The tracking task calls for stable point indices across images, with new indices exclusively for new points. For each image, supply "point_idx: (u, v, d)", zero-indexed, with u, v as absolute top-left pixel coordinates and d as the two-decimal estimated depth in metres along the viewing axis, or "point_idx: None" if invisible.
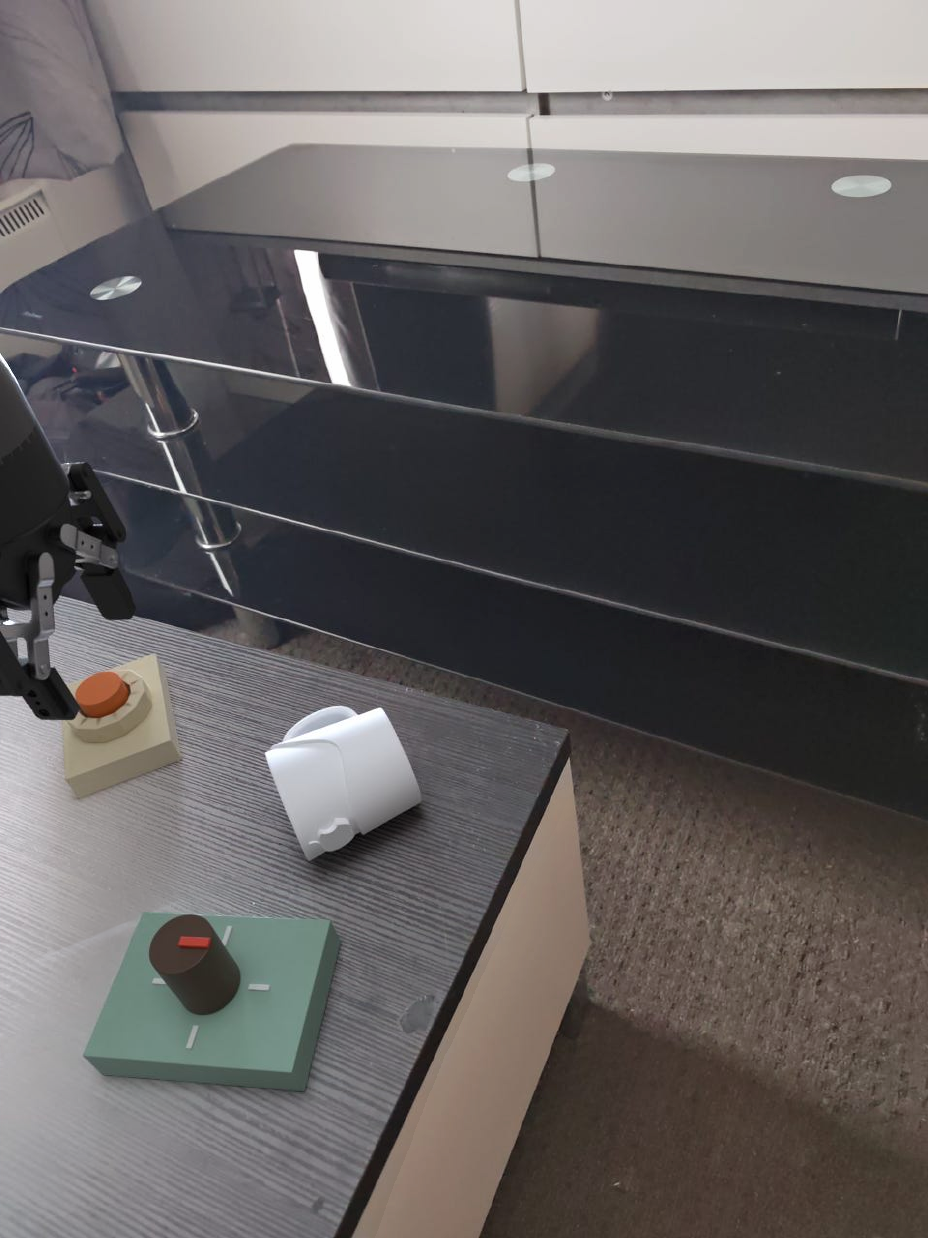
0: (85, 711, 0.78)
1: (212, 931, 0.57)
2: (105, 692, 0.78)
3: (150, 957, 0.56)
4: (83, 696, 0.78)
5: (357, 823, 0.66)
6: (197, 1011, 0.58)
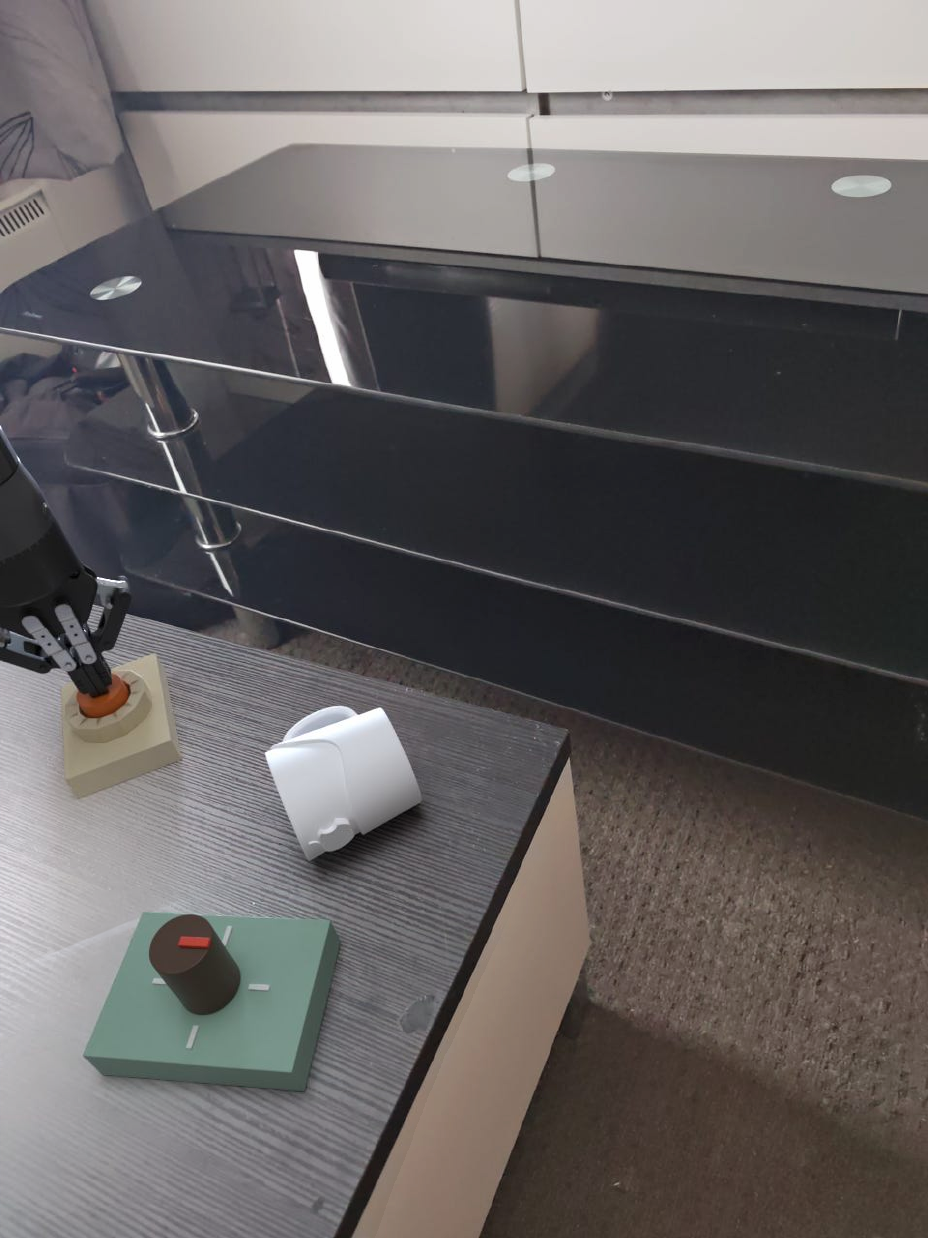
0: (86, 713, 0.79)
1: (212, 931, 0.57)
2: (106, 694, 0.78)
3: (150, 957, 0.56)
4: (84, 698, 0.78)
5: (357, 823, 0.66)
6: (197, 1011, 0.58)
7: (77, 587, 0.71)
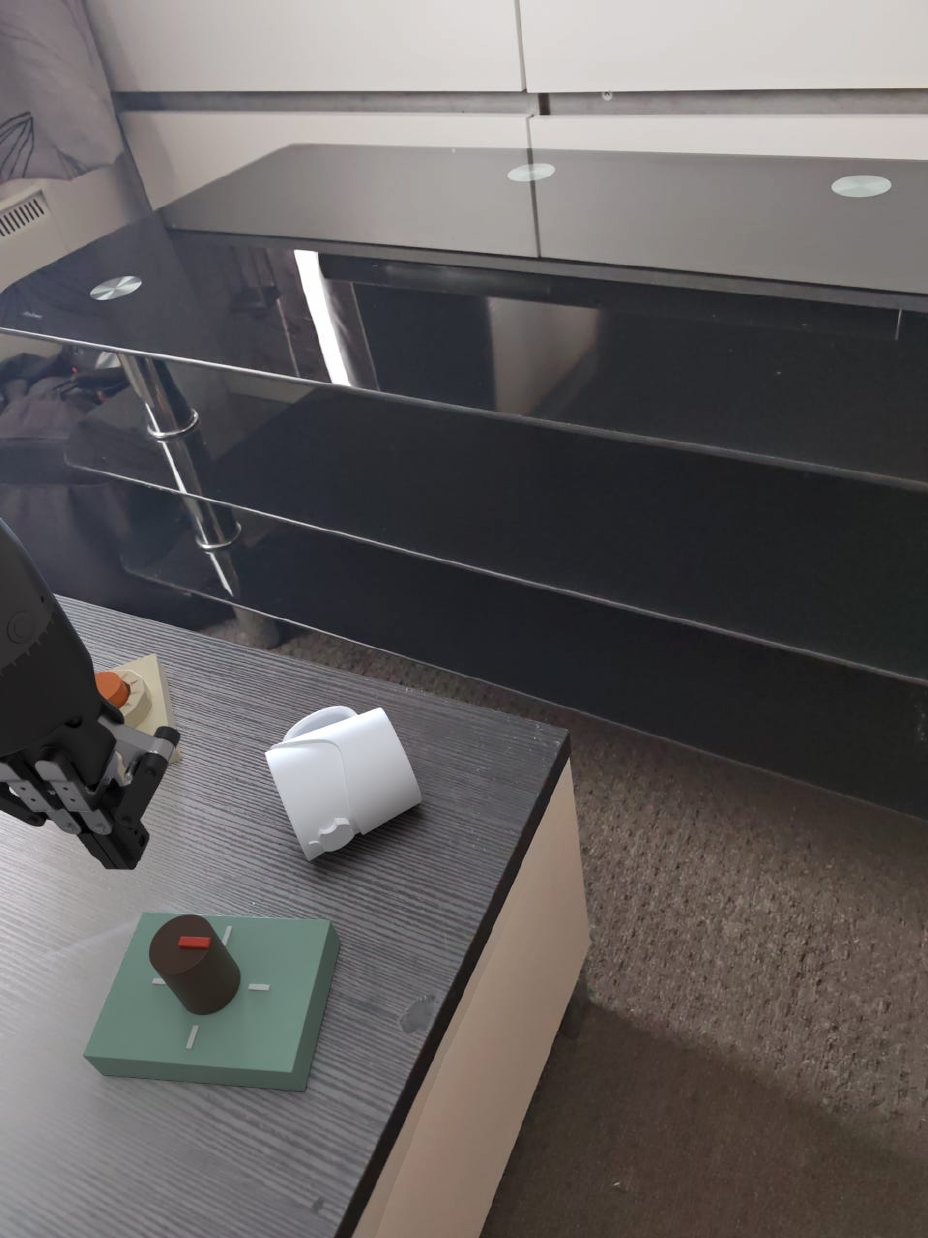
0: None
1: (212, 931, 0.57)
2: (105, 692, 0.78)
3: (150, 957, 0.56)
4: None
5: (357, 823, 0.66)
6: (197, 1011, 0.58)
7: (77, 740, 0.42)
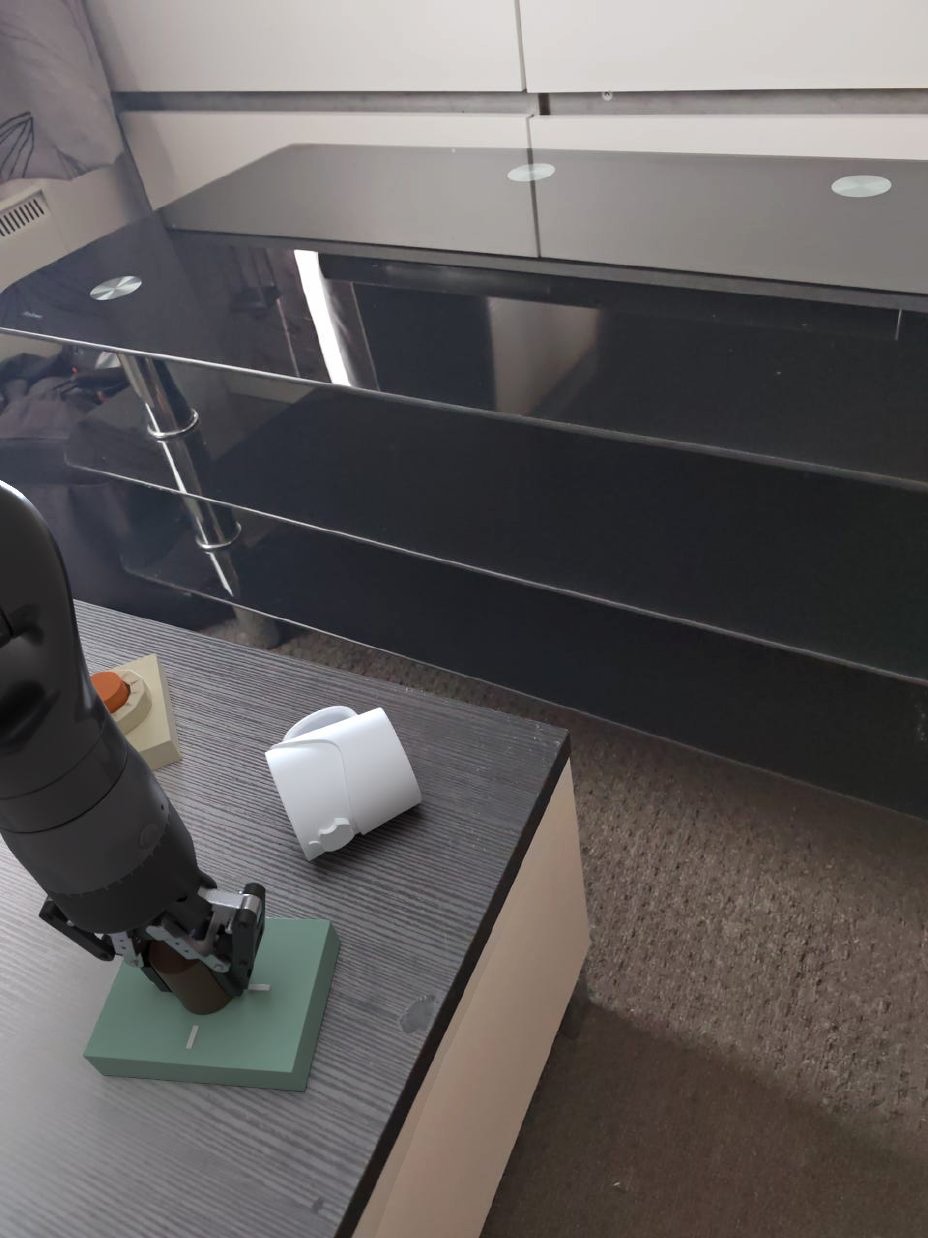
0: None
1: None
2: (105, 692, 0.78)
3: (150, 957, 0.56)
4: None
5: (357, 823, 0.66)
6: (197, 1011, 0.58)
7: (181, 909, 0.51)
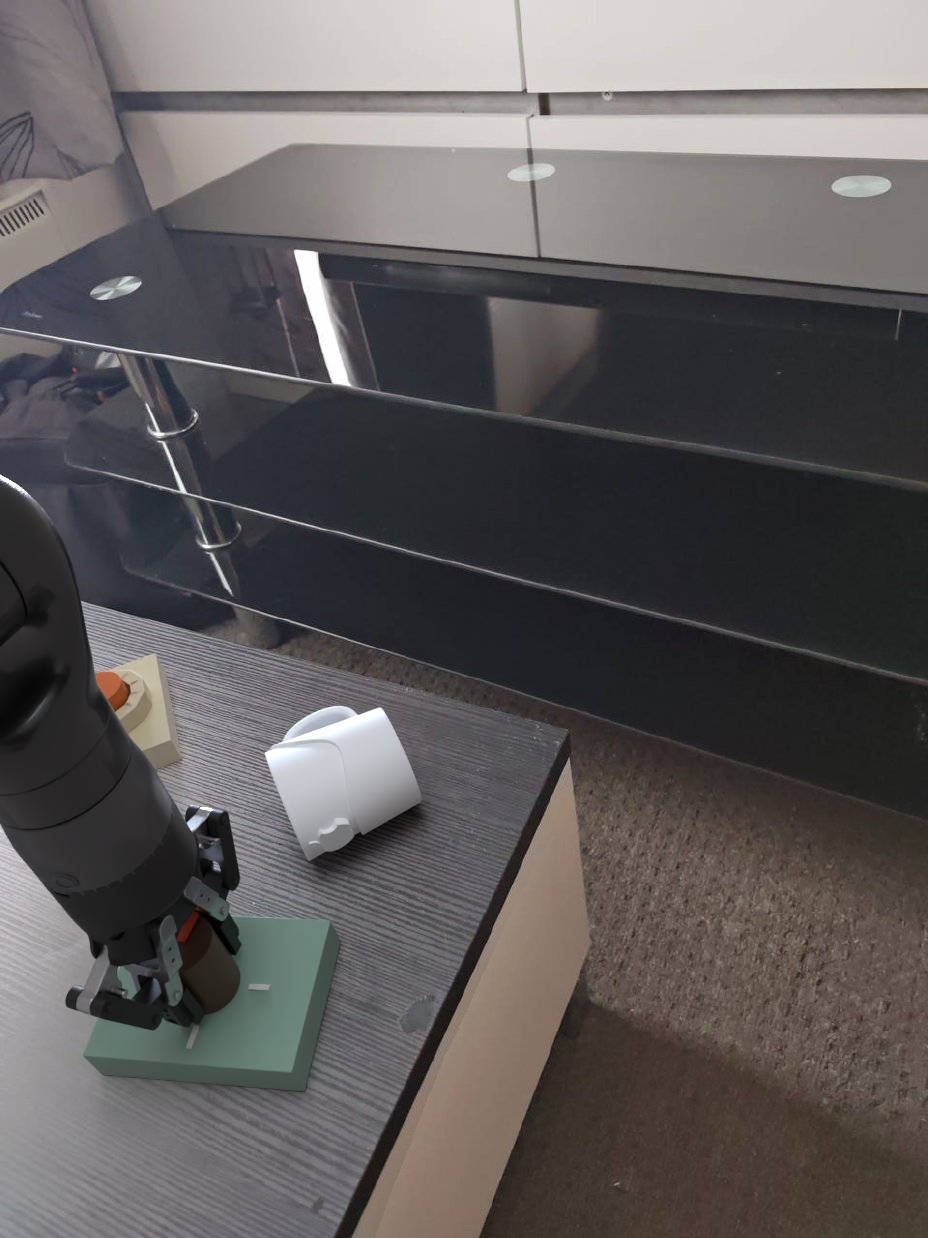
0: None
1: None
2: (105, 692, 0.78)
3: (181, 970, 0.55)
4: None
5: (357, 823, 0.66)
6: (234, 987, 0.59)
7: None
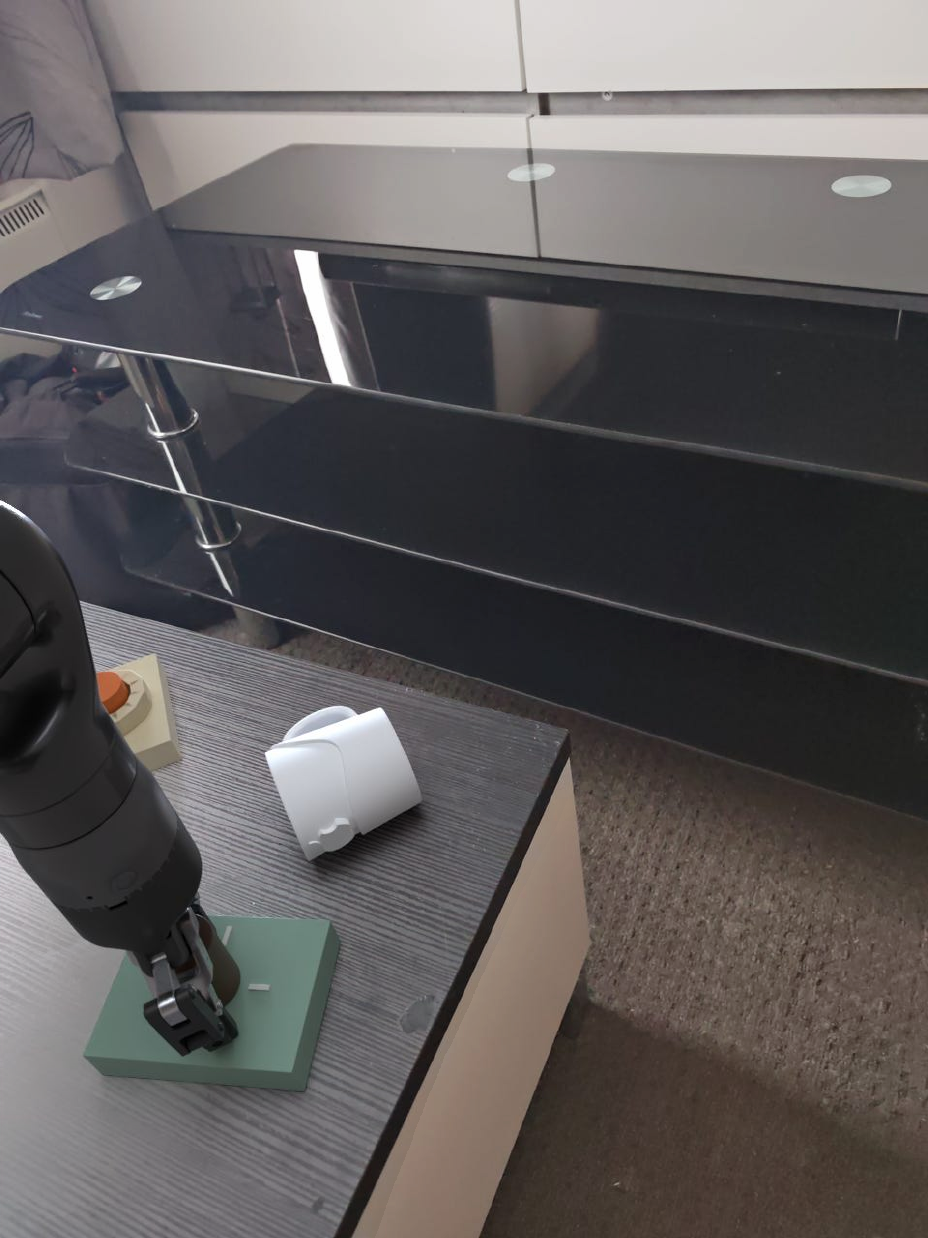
0: None
1: None
2: (105, 692, 0.78)
3: None
4: None
5: (357, 823, 0.66)
6: (237, 966, 0.60)
7: None
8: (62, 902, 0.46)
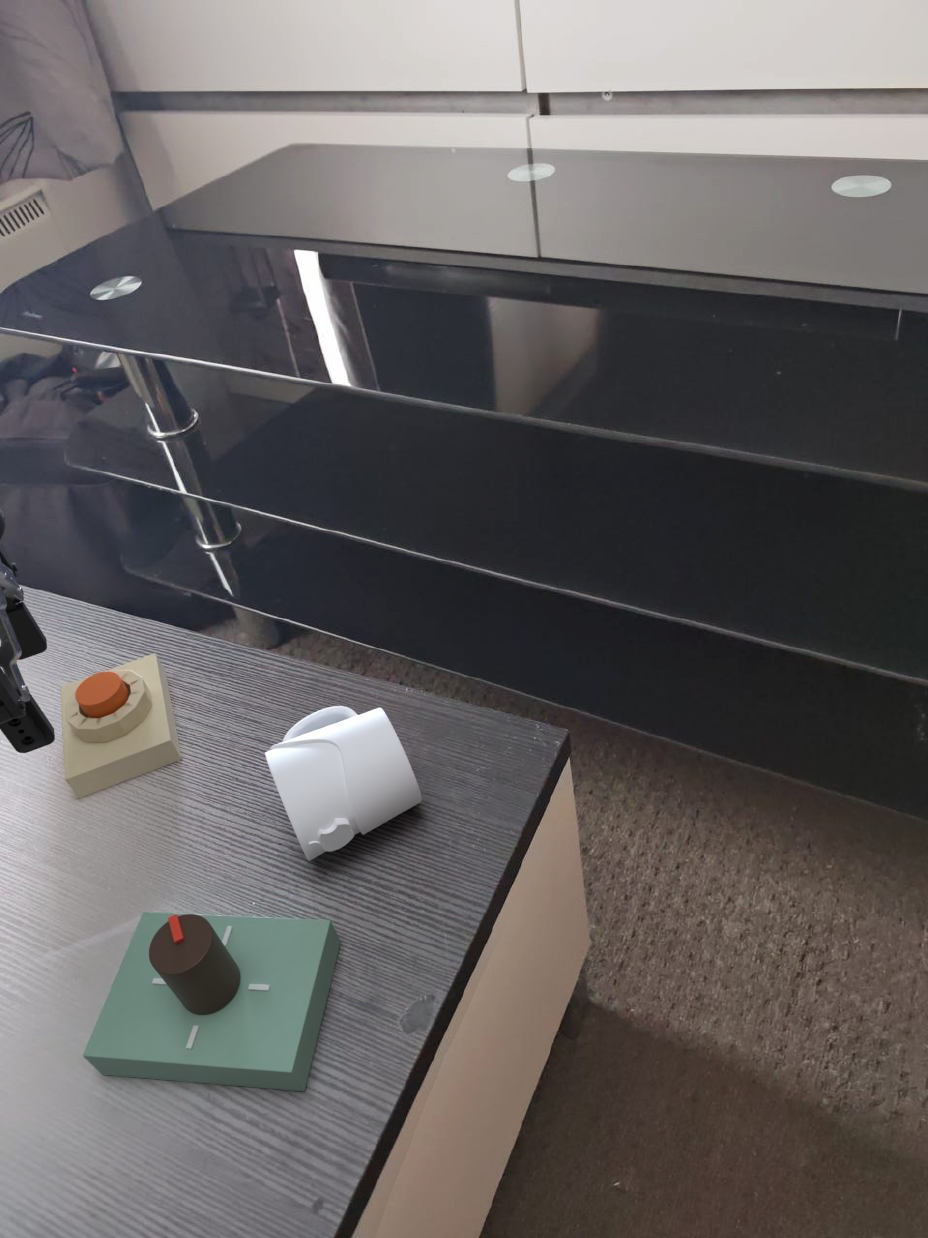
0: (85, 711, 0.78)
1: None
2: (105, 692, 0.78)
3: (202, 956, 0.55)
4: (83, 696, 0.78)
5: (357, 823, 0.66)
6: (237, 966, 0.60)
7: None
8: None
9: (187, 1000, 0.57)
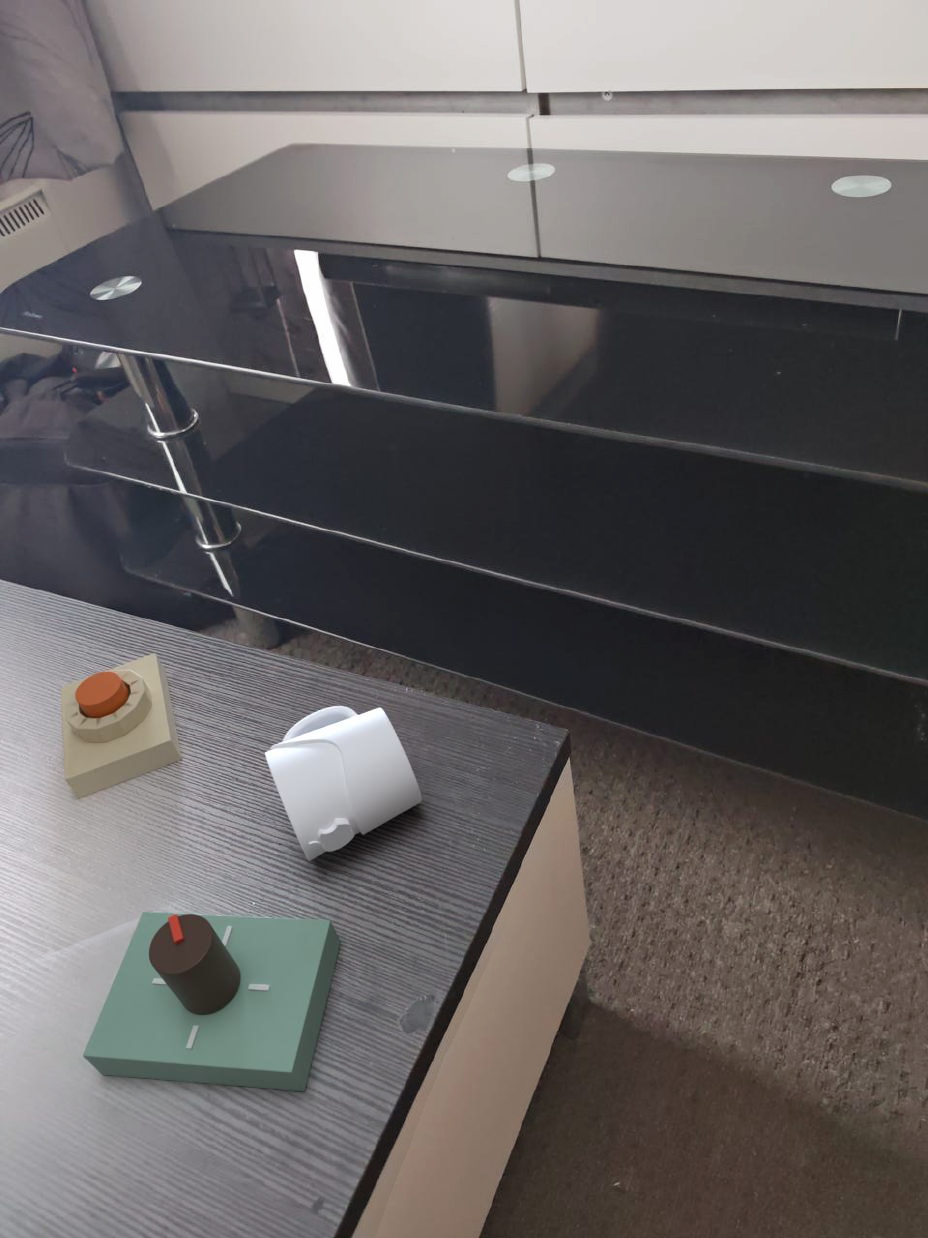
0: (85, 711, 0.78)
1: None
2: (105, 692, 0.78)
3: (202, 956, 0.55)
4: (83, 696, 0.78)
5: (357, 823, 0.66)
6: (237, 966, 0.60)
7: None
8: None
9: (187, 1000, 0.57)
